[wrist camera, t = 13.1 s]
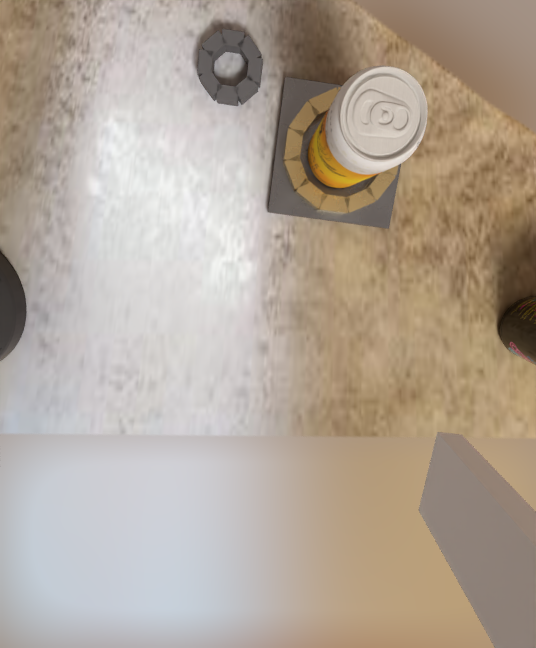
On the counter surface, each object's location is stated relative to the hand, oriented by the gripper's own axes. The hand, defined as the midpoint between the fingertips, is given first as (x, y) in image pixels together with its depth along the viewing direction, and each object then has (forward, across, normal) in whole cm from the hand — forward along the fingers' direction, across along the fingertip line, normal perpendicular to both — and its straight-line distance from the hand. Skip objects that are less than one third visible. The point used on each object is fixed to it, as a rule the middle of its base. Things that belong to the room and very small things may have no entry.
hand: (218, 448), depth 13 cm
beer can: (+31, +7, +14) cm, 35 cm away
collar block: (+32, +7, +14) cm, 35 cm away
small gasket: (+32, -4, +20) cm, 38 cm away
